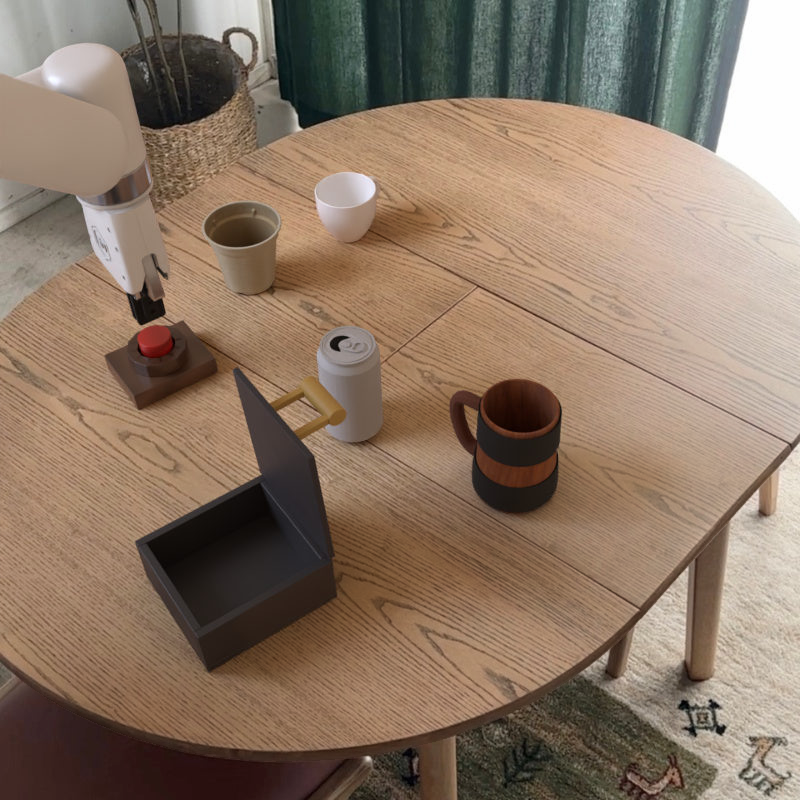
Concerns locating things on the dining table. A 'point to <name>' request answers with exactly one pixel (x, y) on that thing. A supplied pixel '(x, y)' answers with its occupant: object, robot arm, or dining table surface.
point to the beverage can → (352, 381)
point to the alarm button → (155, 341)
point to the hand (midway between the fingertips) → (149, 316)
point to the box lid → (291, 450)
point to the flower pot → (244, 244)
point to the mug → (511, 443)
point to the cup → (347, 204)
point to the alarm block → (161, 366)
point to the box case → (236, 571)
